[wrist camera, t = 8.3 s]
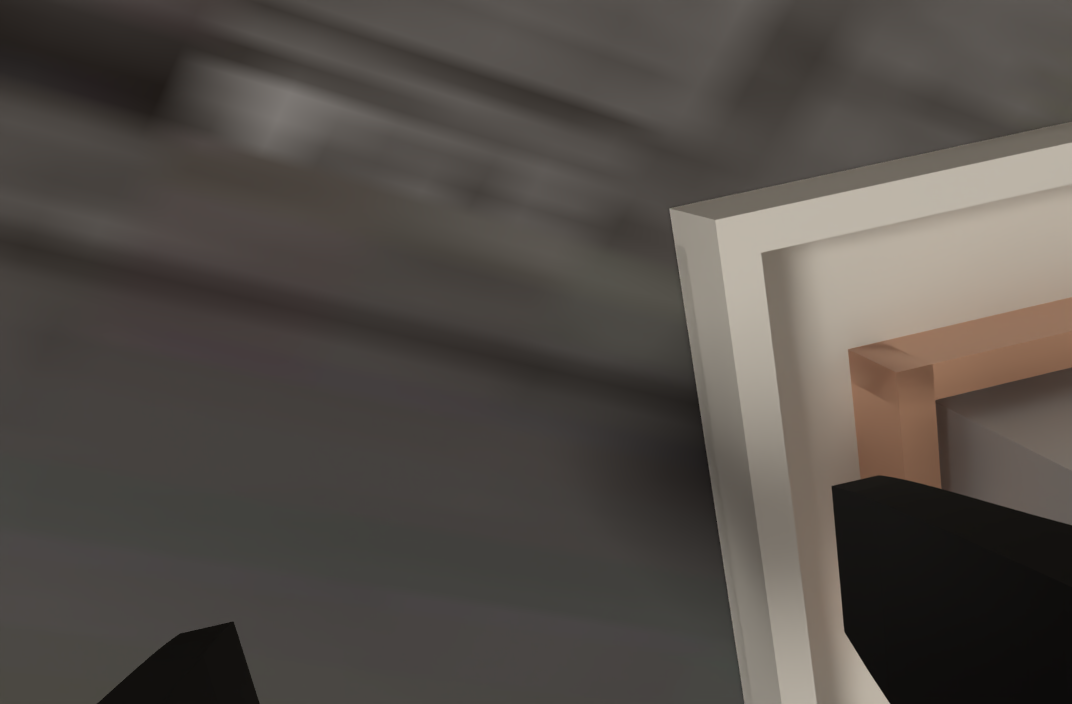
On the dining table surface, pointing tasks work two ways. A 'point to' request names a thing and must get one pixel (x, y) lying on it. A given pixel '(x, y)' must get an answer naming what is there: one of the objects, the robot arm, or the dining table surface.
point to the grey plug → (1011, 444)
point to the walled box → (857, 362)
